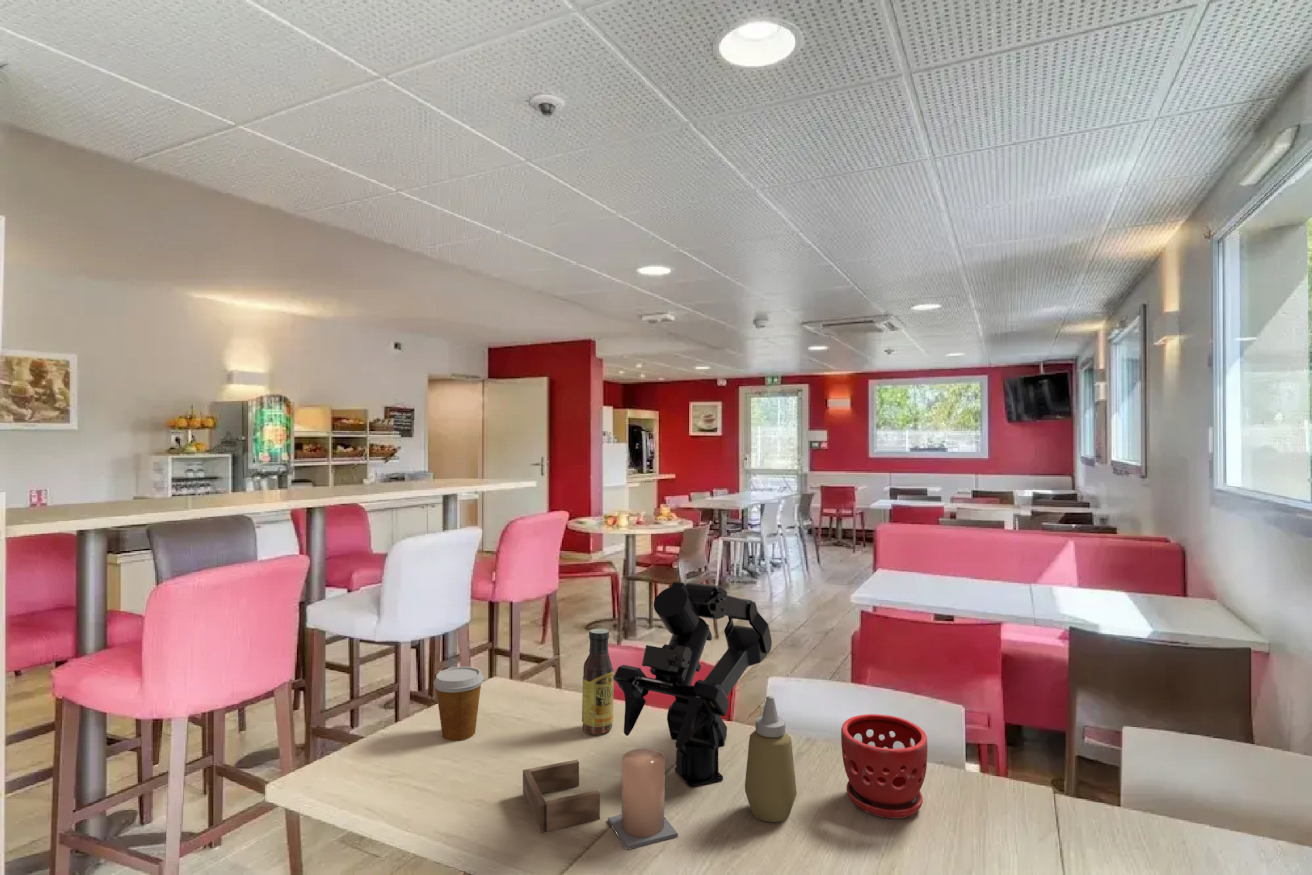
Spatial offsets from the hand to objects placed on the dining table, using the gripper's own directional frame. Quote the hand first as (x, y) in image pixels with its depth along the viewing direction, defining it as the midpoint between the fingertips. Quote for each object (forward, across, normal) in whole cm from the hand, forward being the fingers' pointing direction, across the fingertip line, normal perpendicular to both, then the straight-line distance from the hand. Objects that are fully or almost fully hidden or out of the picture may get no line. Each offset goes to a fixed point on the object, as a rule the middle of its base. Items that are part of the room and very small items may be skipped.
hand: (650, 741), depth 105 cm
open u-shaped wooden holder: (+11, -14, +6) cm, 19 cm away
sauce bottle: (-7, -26, +25) cm, 37 cm away
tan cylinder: (+10, 0, +6) cm, 12 cm away
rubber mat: (+10, 0, +7) cm, 12 cm away
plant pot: (-7, +30, +25) cm, 39 cm away
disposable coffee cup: (+4, -49, +14) cm, 51 cm away
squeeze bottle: (+1, +15, +17) cm, 22 cm away
